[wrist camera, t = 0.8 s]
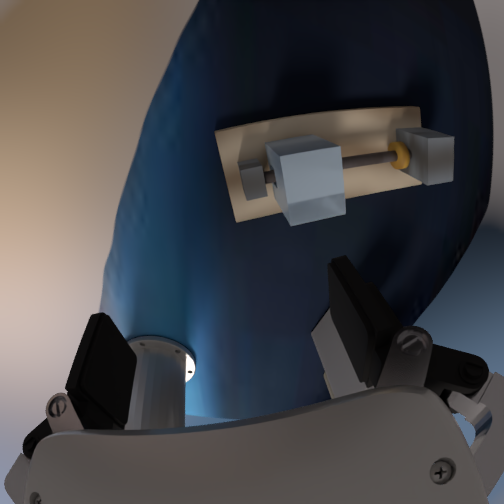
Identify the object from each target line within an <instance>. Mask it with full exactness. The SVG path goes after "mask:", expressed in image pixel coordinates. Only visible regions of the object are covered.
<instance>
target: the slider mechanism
mask: <svg viewBox="0 0 504 504" xmlns="http://www.w3.org/2000/svg"><path fill="white" fill-rule="evenodd" d="M312 134H313V135H315V136H318V137H320V138H323V139H325V140H327V141H330V142H332V143H334V144H336V145H339V146H340V147H341V156H342V167H343V179H344V192H345V199H346V198H351V197H356V196H361V195H366V194H371V193H377V192H382V191H387V190H392V189H398V188H403V187H409V186H414V185H420V184H422V183H424V184H426V185H432V184H438V183H444V182H450V181H453V165H454V137H452V136H449V135H446V134H443V133H440V132H436V131H433V130H429V129H426V128H422V127H421V116H420V107H415V106H393V107H371V108H357V109H345V110H334V111H325V112H317V113H309V114H302V115H295V116H288V117H282V118H276V119H270V120H265V121H259V122H254V123H249V124H244V125H239V126H235V127H230V128H226V129H221V130H217V131H215V136H216V140H217V145H218V149H219V153H220V157H221V161H222V166H223V170H224V174H225V178H226V182H227V186H228V191H229V195H230V199H231V203H232V207H233V211H234V215H235V219H236V222H241V221H245V220H249V219H254V218H258V217H262V216H267V215H271V214H276V213H280V212H282V210H281V208H280V206H279V205H278V203H277V201H276V199H275V197H274V192H273V186H272V183H274V182H276V178H275V172H274V170H269V164H268V159H267V154H266V148H265V142H271V141H276V140H281V139H287V138H293V137H299V136H305V135H312Z"/></svg>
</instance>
